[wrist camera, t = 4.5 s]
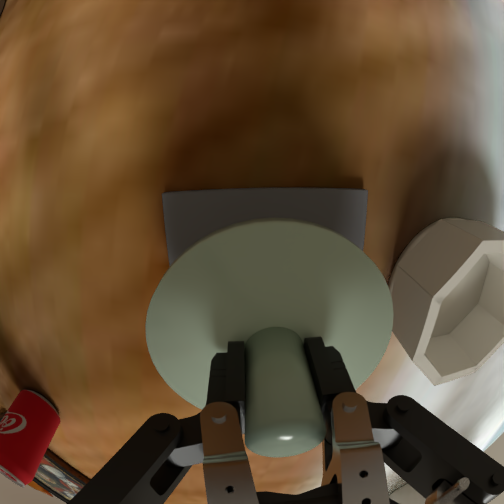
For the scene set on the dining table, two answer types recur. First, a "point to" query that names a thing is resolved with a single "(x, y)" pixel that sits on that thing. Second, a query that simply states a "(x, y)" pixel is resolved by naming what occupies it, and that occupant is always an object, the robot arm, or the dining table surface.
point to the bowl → (450, 297)
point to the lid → (270, 321)
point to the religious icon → (58, 476)
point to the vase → (407, 496)
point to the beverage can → (26, 436)
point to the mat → (260, 211)
